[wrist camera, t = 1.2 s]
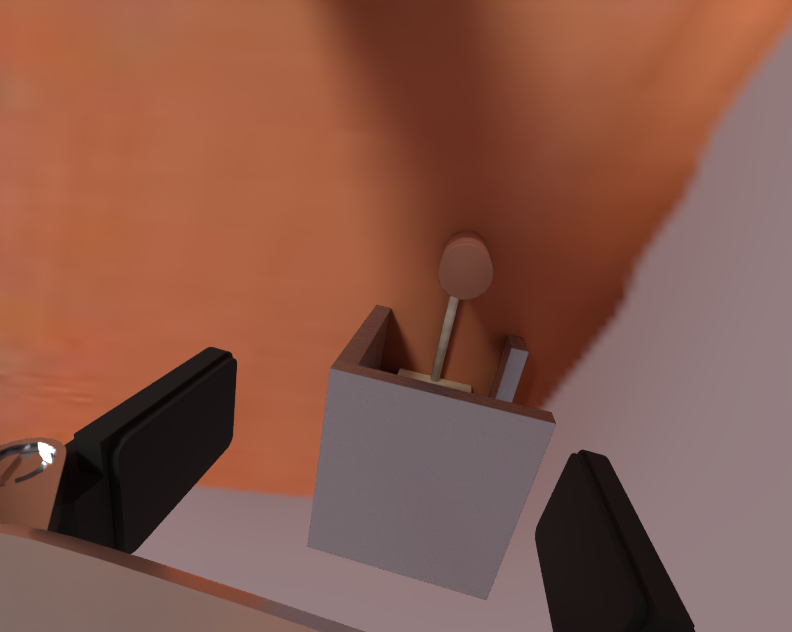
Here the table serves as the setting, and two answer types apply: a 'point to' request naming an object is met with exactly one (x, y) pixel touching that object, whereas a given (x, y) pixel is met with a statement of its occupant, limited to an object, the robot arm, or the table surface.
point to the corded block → (458, 293)
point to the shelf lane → (423, 467)
